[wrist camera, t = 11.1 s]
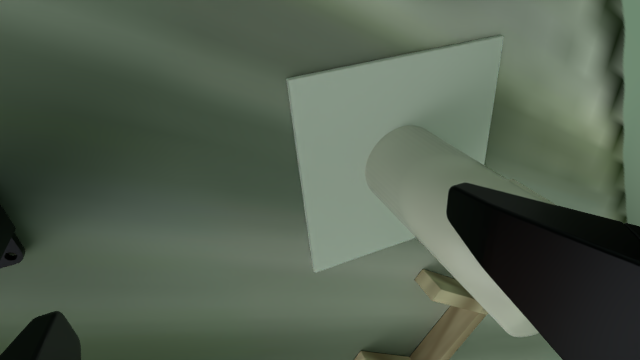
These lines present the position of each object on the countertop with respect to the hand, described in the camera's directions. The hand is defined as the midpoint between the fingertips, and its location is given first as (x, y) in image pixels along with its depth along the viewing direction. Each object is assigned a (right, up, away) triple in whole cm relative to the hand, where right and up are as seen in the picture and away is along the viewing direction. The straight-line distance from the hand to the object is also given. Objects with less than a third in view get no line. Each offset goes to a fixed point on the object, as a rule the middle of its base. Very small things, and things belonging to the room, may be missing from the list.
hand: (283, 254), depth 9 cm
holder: (+10, -12, +27) cm, 31 cm away
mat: (+6, +3, +17) cm, 18 cm away
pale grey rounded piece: (+7, +3, +17) cm, 19 cm away
